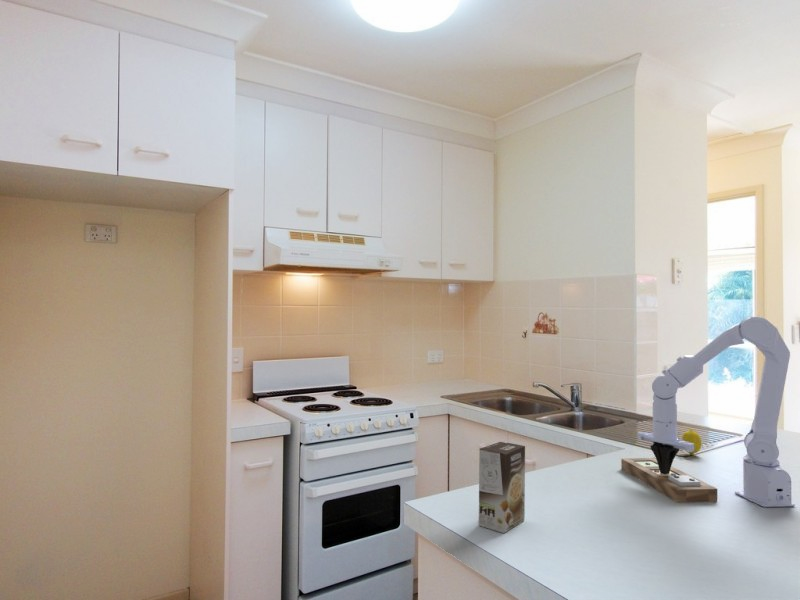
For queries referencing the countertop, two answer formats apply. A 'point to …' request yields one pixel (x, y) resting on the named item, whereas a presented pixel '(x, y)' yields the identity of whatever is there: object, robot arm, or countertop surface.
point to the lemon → (692, 440)
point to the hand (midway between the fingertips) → (664, 473)
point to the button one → (647, 463)
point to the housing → (668, 482)
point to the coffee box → (501, 486)
